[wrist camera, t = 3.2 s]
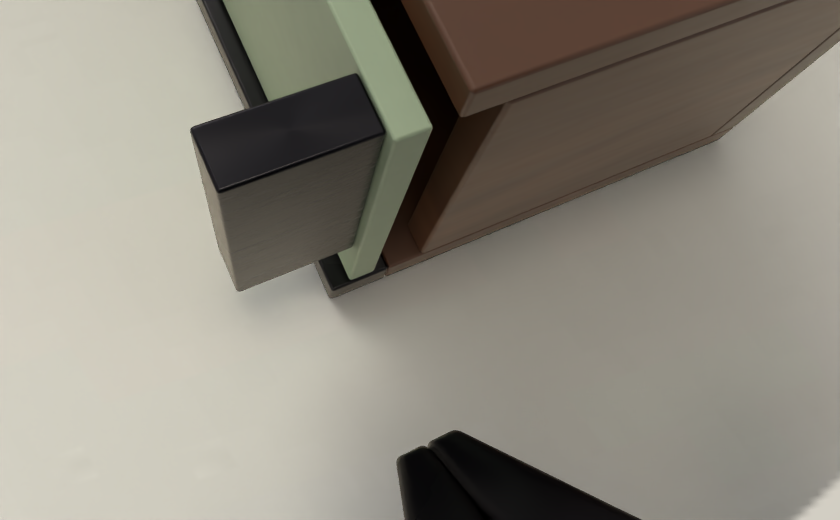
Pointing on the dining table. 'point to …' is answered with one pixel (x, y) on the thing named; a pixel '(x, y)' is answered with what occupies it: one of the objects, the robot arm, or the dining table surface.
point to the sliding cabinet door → (311, 141)
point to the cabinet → (559, 99)
